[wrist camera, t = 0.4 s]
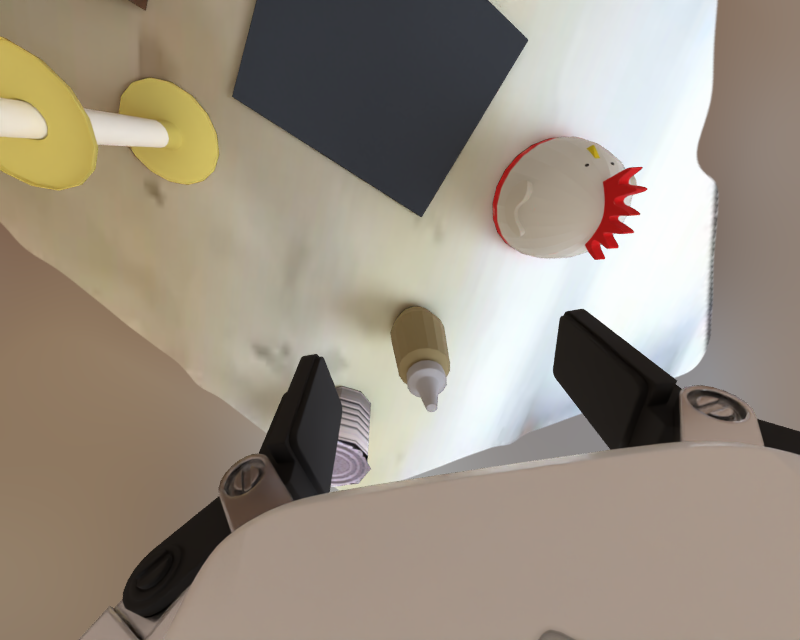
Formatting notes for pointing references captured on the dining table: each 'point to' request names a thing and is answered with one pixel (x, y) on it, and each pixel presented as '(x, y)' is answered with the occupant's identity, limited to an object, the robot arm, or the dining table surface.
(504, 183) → the kitchen timer
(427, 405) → the squeeze bottle
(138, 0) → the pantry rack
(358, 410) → the can
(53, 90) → the candle
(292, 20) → the mat
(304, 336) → the dining table surface
